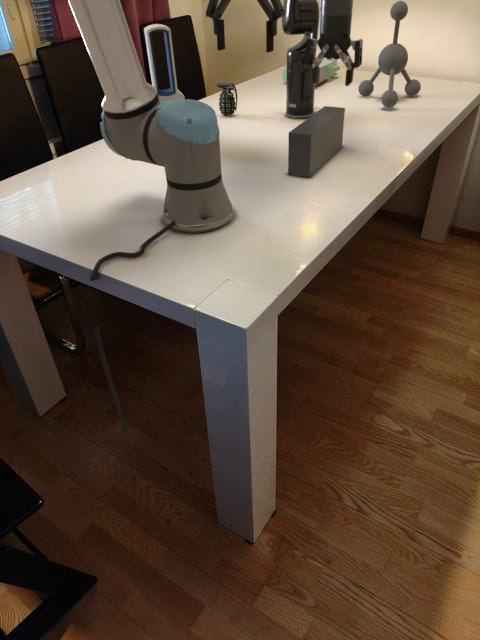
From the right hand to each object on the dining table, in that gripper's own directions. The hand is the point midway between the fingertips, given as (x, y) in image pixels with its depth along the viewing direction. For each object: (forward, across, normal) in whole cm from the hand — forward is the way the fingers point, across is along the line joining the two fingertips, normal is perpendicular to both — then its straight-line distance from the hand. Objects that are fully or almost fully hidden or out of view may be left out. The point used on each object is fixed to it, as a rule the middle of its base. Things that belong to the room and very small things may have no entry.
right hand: (331, 84), depth 128 cm
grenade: (+17, +44, -20) cm, 51 cm away
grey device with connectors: (+17, +37, -80) cm, 90 cm away
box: (+17, 0, +9) cm, 19 cm away
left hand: (-9, +19, +11) cm, 24 cm away
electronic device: (+17, +51, +4) cm, 54 cm away
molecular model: (+17, -4, -57) cm, 59 cm away
